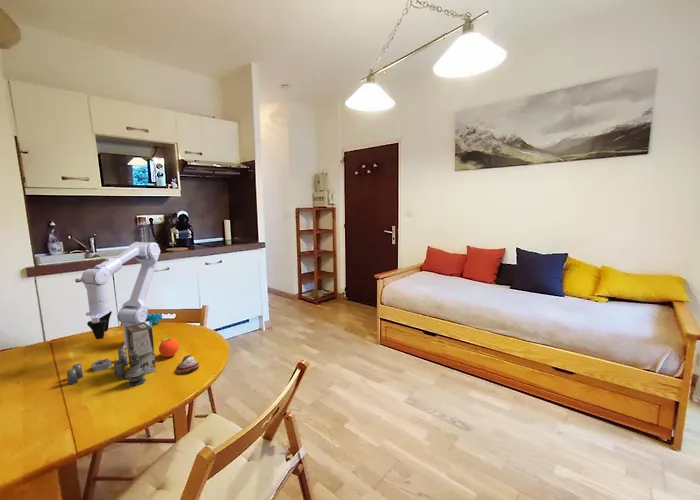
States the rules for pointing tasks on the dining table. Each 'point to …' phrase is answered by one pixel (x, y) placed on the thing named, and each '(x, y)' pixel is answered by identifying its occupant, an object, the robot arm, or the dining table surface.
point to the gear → (153, 318)
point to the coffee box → (142, 344)
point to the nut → (101, 365)
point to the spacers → (118, 368)
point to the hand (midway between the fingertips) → (102, 334)
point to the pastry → (187, 365)
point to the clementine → (168, 347)
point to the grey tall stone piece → (135, 370)
